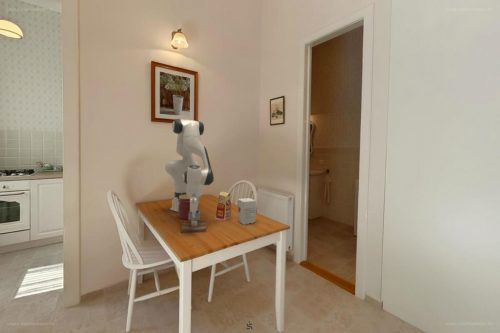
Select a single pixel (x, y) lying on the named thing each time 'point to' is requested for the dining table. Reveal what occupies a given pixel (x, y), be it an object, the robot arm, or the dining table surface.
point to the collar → (195, 217)
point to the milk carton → (223, 206)
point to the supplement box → (246, 210)
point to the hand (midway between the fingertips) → (194, 215)
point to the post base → (194, 226)
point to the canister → (183, 206)
